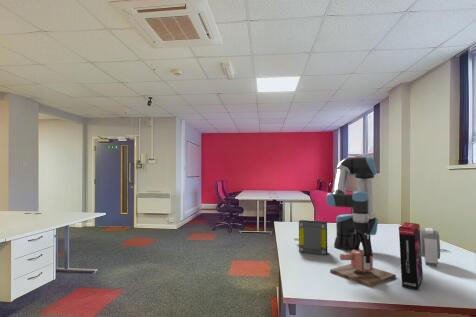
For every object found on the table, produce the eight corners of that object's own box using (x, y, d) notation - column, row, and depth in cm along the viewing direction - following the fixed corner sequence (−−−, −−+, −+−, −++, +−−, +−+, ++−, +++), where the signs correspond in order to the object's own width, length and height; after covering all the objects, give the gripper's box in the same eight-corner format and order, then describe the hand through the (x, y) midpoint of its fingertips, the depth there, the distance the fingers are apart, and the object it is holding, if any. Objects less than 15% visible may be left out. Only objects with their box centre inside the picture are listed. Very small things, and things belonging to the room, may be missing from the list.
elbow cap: (366, 264, 141) (365, 249, 142) (376, 271, 132) (375, 254, 132) (337, 265, 140) (337, 249, 141) (345, 271, 131) (344, 254, 132)
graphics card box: (418, 291, 117) (416, 228, 119) (400, 287, 121) (398, 226, 123) (423, 280, 130) (420, 223, 132) (406, 276, 134) (404, 221, 136)
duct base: (330, 272, 139) (329, 253, 140) (355, 265, 151) (355, 248, 152) (370, 287, 121) (369, 265, 121) (395, 277, 133) (395, 258, 133)
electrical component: (298, 252, 176) (298, 221, 177) (300, 248, 185) (300, 219, 187) (326, 255, 169) (325, 223, 171) (327, 251, 178) (327, 221, 180)
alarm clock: (441, 269, 146) (439, 231, 147) (422, 266, 150) (421, 229, 152) (437, 260, 161) (436, 226, 162) (420, 258, 165) (419, 225, 167)
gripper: (380, 225, 127) (381, 273, 125) (357, 218, 149) (358, 259, 147) (364, 225, 127) (365, 273, 125) (344, 218, 149) (345, 259, 147)
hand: (361, 265), depth 136 cm, fingers closed on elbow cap, 9 cm apart
